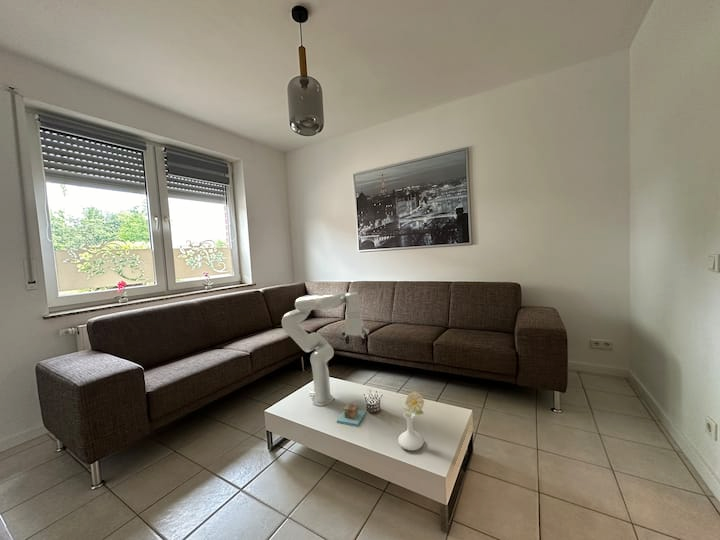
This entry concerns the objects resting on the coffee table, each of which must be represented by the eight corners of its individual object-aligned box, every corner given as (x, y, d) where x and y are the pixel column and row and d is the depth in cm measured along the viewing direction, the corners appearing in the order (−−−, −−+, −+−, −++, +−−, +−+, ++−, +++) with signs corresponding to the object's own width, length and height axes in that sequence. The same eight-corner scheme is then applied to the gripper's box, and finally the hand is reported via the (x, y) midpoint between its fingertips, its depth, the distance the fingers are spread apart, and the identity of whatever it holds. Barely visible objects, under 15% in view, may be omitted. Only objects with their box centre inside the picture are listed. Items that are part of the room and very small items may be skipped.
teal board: (336, 422, 148) (336, 420, 148) (346, 410, 159) (345, 408, 159) (357, 426, 144) (357, 424, 144) (365, 413, 155) (365, 411, 155)
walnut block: (344, 417, 150) (344, 408, 150) (348, 412, 155) (348, 403, 155) (354, 419, 148) (353, 410, 148) (358, 413, 153) (357, 404, 153)
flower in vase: (394, 448, 126) (390, 394, 125) (404, 433, 136) (401, 383, 134) (422, 457, 119) (419, 400, 118) (430, 441, 129) (428, 388, 127)
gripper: (336, 315, 159) (338, 345, 160) (365, 316, 153) (367, 347, 154) (342, 312, 166) (344, 341, 167) (370, 313, 160) (372, 342, 161)
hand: (355, 344), depth 160 cm, fingers open, 9 cm apart
